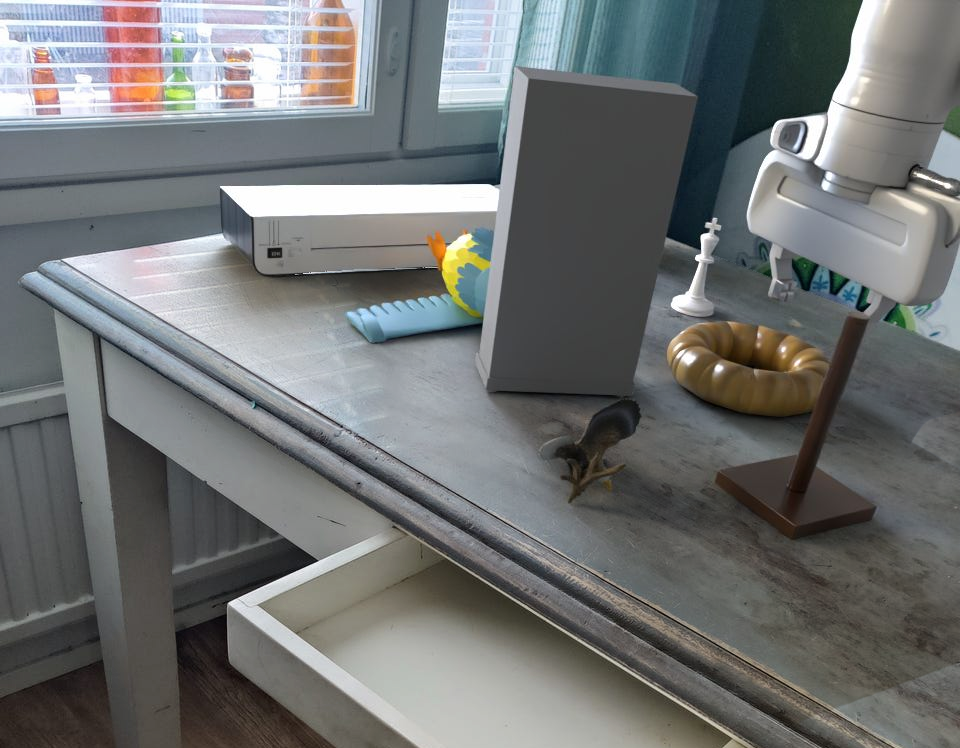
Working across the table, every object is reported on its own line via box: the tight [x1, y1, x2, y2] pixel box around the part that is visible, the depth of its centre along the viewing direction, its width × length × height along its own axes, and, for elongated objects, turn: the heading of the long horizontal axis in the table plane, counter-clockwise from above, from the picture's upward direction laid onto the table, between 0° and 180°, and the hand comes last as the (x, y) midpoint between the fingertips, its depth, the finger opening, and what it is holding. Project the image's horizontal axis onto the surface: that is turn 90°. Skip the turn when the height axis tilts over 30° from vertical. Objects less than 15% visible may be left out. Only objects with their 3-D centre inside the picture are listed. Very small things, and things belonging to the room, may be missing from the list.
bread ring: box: [666, 320, 831, 418], centre depth 96 cm, size 16×16×4 cm
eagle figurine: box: [538, 397, 643, 504], centre depth 76 cm, size 8×7×9 cm
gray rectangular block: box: [474, 65, 699, 398], centre depth 85 cm, size 14×6×25 cm, turn 100°
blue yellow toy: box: [344, 227, 494, 344], centre depth 100 cm, size 28×9×15 cm
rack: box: [714, 311, 878, 540], centre depth 75 cm, size 9×9×15 cm
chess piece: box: [670, 217, 722, 318], centre depth 110 cm, size 5×5×10 cm
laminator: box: [219, 183, 500, 278], centre depth 113 cm, size 34×12×6 cm, turn 118°
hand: (815, 318), depth 88 cm, fingers open, 8 cm apart
